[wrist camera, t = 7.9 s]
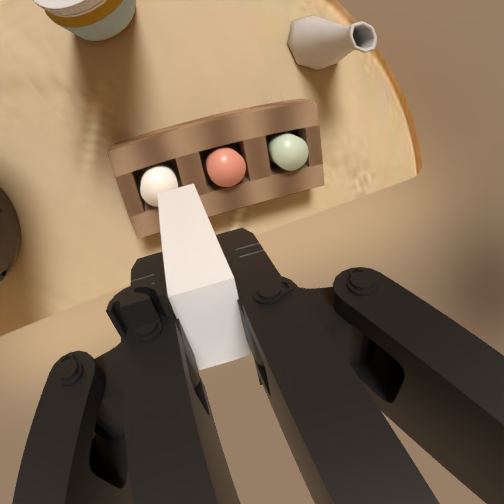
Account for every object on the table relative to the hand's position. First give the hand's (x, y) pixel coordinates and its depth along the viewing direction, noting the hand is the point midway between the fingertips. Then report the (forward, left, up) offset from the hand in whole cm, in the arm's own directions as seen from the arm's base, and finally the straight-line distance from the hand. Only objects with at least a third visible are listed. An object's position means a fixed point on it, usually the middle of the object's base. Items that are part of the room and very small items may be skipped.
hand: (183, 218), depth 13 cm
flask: (+15, +14, -23) cm, 31 cm away
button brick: (+6, -2, -22) cm, 23 cm away
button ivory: (0, -5, -22) cm, 22 cm away
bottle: (-9, +14, -23) cm, 28 cm away
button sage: (+13, 0, -22) cm, 25 cm away
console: (+6, -2, -23) cm, 24 cm away
